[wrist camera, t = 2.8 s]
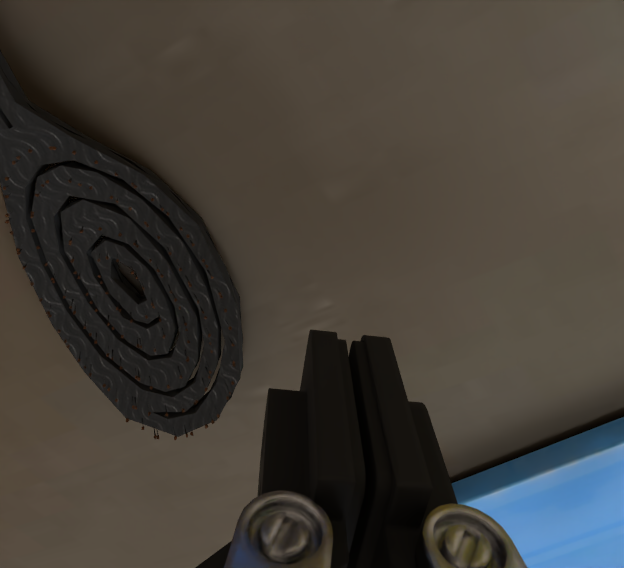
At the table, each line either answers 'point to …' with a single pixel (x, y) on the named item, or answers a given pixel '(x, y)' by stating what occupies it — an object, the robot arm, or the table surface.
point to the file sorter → (559, 500)
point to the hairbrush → (105, 272)
